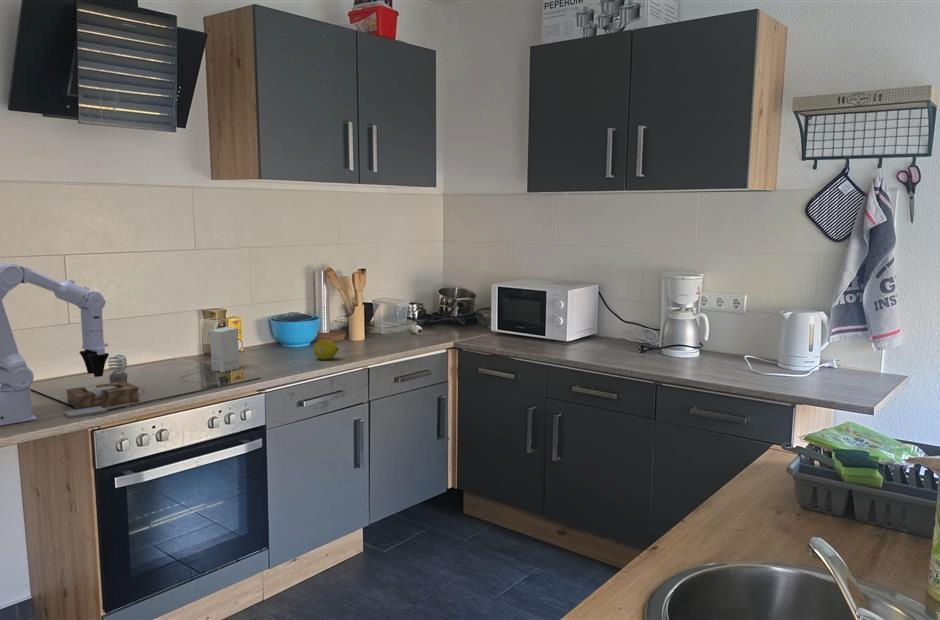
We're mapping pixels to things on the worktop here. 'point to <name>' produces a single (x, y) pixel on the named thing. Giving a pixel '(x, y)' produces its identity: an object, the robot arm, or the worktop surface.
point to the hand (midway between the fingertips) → (95, 374)
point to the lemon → (325, 349)
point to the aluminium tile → (100, 391)
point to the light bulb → (118, 368)
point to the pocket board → (113, 397)
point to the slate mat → (84, 412)
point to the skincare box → (224, 349)
